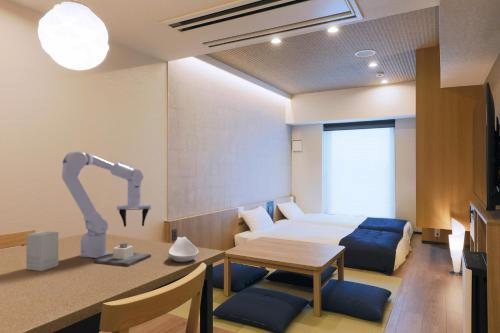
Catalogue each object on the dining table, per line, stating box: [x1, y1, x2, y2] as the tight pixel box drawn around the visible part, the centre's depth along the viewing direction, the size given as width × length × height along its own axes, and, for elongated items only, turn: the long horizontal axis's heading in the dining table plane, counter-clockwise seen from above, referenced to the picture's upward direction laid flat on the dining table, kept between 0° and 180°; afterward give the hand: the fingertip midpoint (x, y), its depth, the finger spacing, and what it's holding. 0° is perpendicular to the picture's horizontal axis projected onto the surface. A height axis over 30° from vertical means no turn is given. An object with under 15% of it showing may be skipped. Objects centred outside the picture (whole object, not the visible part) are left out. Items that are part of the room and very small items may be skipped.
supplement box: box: [25, 230, 59, 272], centre depth 121 cm, size 7×7×13 cm
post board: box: [93, 242, 152, 267], centre depth 132 cm, size 16×14×6 cm
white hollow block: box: [112, 245, 134, 259], centre depth 132 cm, size 5×5×4 cm
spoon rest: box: [168, 236, 199, 263], centre depth 137 cm, size 24×12×7 cm, turn 17°
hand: (134, 225), depth 149 cm, fingers open, 7 cm apart
